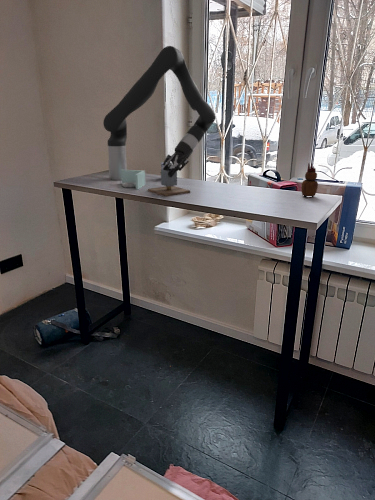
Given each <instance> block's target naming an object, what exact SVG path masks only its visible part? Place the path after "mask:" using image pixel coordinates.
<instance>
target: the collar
mask: <svg viewBox="0 0 375 500" xmlns="http://www.w3.org/2000/svg"><path fill="white" fill-rule="evenodd" d="M170 170H171V168H169V169H161V168H160V185H161V186H163V187H165V186H167V187H169V186H178V171H176V172H175V174H174V175H173V176H172V177H169V176H168V173H169V172H170Z"/></svg>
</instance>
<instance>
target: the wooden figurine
mask: <svg viewBox="0 0 375 500" xmlns="http://www.w3.org/2000/svg"><path fill="white" fill-rule="evenodd" d="M307 163H308V164H307V172H305V174H304V178H305V180H303V181H302V183H301V187H300V189H301V191H300V192H301V195H302V196H303V195H305V196H314V197H315V196H316V195H317V192H318V186H319V182H318V181H317V178H318V173H317V170H316V167H315V166H314V165H313V163H311V164H310V162H307Z"/></svg>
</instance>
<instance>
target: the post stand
mask: <svg viewBox="0 0 375 500" xmlns="http://www.w3.org/2000/svg"><path fill="white" fill-rule="evenodd" d="M147 191H148V192H149V193H153V194H156V195H159V196H162V197H171V196H177V195H184V194H185V195H186V194H191V189H190V190H189V189H188V188H187V189H186V188H182V187H178V186H177V185H175V186H169V187H167V186H160V187H159V186H158V187H152V188H148V189H147Z"/></svg>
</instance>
